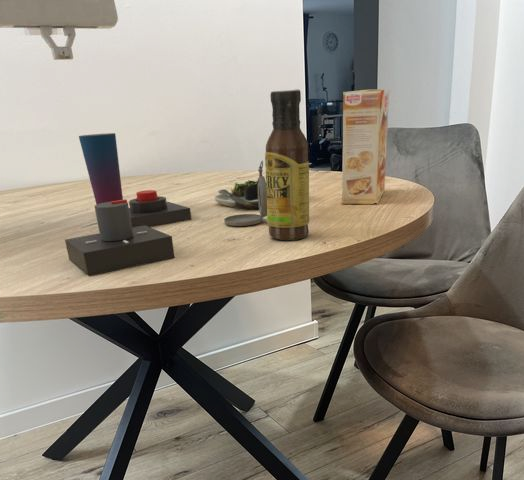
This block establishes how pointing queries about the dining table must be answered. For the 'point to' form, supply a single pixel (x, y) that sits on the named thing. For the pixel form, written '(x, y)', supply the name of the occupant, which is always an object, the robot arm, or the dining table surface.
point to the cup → (102, 166)
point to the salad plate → (240, 196)
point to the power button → (146, 195)
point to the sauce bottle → (287, 170)
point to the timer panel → (119, 250)
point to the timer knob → (114, 220)
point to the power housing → (157, 212)
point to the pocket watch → (262, 203)
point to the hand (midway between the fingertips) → (63, 59)
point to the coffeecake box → (364, 145)
